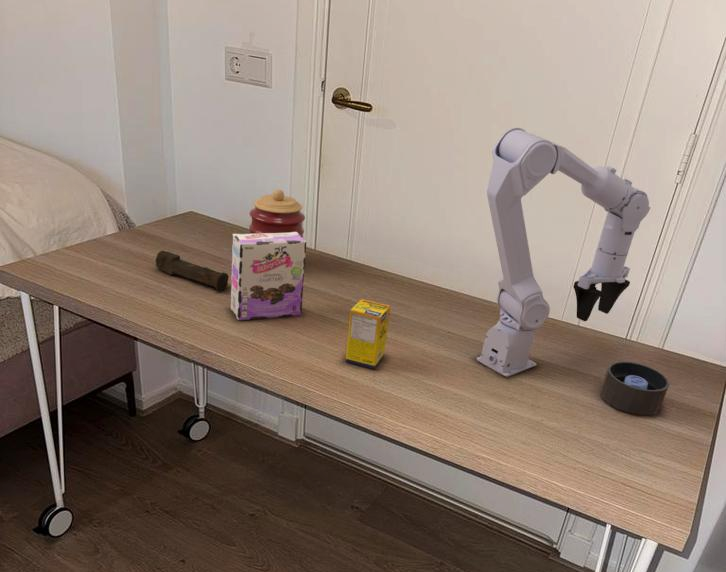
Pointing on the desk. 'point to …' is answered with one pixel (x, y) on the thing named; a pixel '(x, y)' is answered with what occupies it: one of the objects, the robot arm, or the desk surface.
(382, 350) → the supplement box
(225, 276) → the hand tool
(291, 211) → the kitchen canister
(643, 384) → the decorative dice
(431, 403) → the desk surface
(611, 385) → the dark grey round bowl
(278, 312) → the candy box
